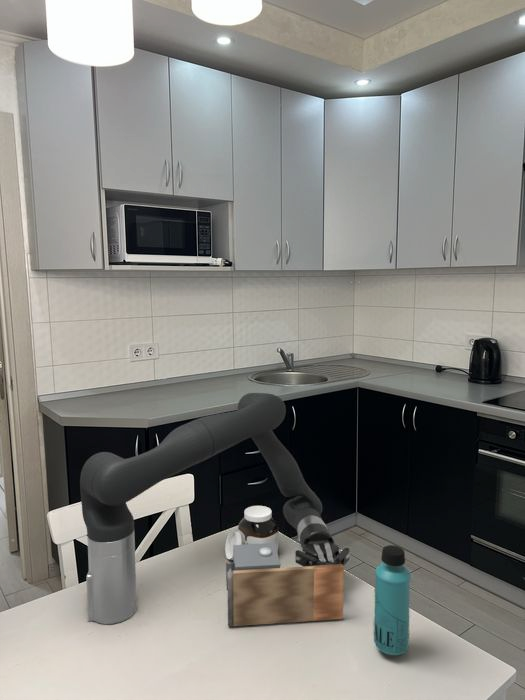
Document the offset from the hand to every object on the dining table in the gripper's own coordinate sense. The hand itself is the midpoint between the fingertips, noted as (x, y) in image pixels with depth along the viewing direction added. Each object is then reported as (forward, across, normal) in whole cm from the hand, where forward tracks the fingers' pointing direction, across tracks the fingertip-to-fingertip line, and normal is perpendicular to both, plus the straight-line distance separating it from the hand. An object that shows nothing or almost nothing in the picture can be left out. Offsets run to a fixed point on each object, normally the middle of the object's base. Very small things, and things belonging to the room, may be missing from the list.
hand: (331, 576), depth 108 cm
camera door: (+4, -10, +6) cm, 13 cm away
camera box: (-2, -16, +7) cm, 17 cm away
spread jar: (-23, -15, +7) cm, 29 cm away
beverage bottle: (+14, +8, +7) cm, 18 cm away
